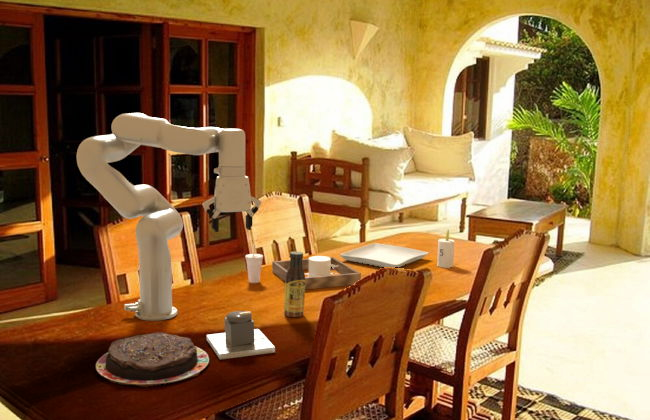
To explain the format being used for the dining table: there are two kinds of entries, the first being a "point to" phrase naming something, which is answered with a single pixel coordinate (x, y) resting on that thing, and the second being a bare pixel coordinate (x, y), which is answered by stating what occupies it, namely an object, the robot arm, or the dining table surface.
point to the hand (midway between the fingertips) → (232, 230)
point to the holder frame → (345, 278)
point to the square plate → (383, 255)
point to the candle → (445, 252)
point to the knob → (239, 328)
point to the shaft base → (240, 346)
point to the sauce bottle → (295, 287)
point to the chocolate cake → (151, 360)
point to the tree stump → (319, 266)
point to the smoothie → (254, 266)
